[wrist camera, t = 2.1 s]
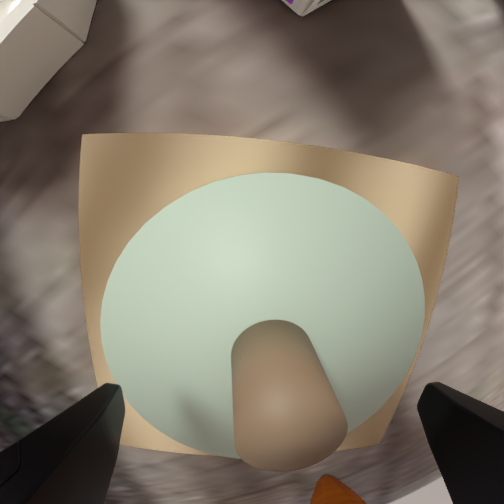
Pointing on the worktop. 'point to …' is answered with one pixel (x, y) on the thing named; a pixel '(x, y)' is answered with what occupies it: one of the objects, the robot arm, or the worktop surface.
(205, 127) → the worktop surface
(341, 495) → the carrot
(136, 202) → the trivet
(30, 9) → the bowl
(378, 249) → the lid
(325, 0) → the syrup box
